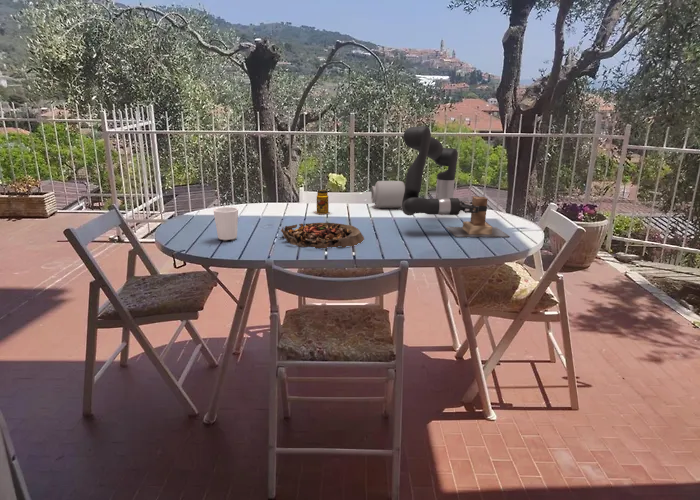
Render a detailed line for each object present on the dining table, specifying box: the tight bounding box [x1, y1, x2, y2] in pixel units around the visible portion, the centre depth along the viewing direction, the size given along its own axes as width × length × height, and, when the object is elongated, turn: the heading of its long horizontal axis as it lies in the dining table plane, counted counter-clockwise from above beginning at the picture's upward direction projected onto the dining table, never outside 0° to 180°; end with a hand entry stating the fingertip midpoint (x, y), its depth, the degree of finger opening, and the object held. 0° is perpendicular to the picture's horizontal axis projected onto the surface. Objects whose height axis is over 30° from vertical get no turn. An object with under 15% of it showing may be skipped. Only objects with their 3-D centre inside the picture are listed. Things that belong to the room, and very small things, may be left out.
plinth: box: [445, 220, 511, 239], centre depth 220 cm, size 24×16×4 cm, turn 94°
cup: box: [213, 206, 239, 242], centre depth 201 cm, size 10×10×13 cm
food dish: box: [280, 222, 365, 249], centre depth 206 cm, size 35×33×8 cm
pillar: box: [470, 196, 488, 226], centre depth 217 cm, size 5×5×12 cm
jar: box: [360, 180, 405, 211], centre depth 267 cm, size 19×15×25 cm
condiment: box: [313, 189, 332, 216], centre depth 253 cm, size 7×8×12 cm
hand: (483, 206), depth 217 cm, fingers open, 8 cm apart
